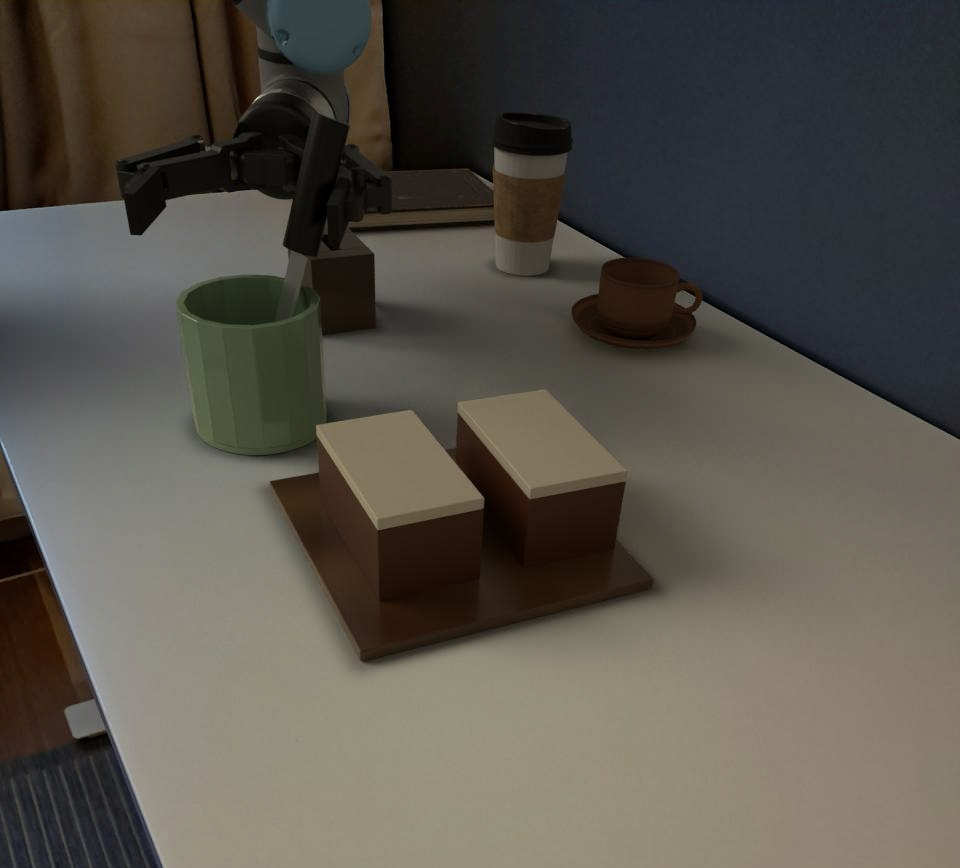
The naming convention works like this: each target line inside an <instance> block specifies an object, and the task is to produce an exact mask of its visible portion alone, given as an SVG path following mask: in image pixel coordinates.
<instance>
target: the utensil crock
mask: <svg viewBox="0 0 960 868" xmlns="http://www.w3.org/2000/svg"><path fill="white" fill-rule="evenodd" d="M284 279H285V277H282V276H276V275H271V274H270V275H269V274H236V275H225V276H219V277H215V278H212V279H208V280H204V281H201V282H196V283H194V284H193V285H191V286H190V287H187V288H186V289H184V290H183V291H181V292H180V294H179V295H178V297H177V299H176V301H175V309H176V317H177V322H178V323H177V324H178V329H179V330H178V331H179V337H180V341H181V347H182V348H181V349H182V355H183V360H184V367H185V373H186V380H187V387H188V392H189V400H190V406H191V413H192V418H193V422H194V426H195V430H196V434H197V435H198V436H199V437H200V439H201V440H202V441H203V442H205V443H206V444H207V445H209V446H211V447H212V448H214V449H217V450H220V451H222V452H223V451H224V452H227V453H232V454H237V455H244V456H266V455H277V454H281V453H286V452H291V451H295V450H297V449H300V448H302V447H305V446H306V445H309V444H310V443H313V442H314V441H315V440H317V433H316V425H320V424H326V423H327V413H328V412H327V394H326V377H325V360H324V359H325V358H324V342H323V341H324V340H323V335H322V323H321V306H320V297H319V296H318V295H317V293H316V292H315V291H314V290H313V288H311V287H309V286H307V285H305V284H303V283H301V287H300V291H299V295H298V300H297V304H296V308H295V312H294V316H293V317H292V318H288V319H285V320H282V321H279V322H275V317H276V313H277V309H278V305H279V300H280V296H281V292H282V288H283V283H284Z"/></svg>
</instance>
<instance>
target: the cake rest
mask: <svg viewBox="0 0 960 868" xmlns="http://www.w3.org/2000/svg"><path fill="white" fill-rule="evenodd" d="M413 410H414V409H413ZM413 410H412V409H407V410H401V411H395V412H389V413H382V414H377V415H370V416H363V417H358V418H351V419H346V420H338V421H333V422H332V421H331V422H328V423H327V422H326V424H320V425H316V433H317V438H316V446H317V447H316V448H317V462H318V463H317V464H318V465H317V466H318V472H319V480H320V495H321V503H322V505H323V506H324V508H325V510H326V511H327V513H328V515H329V517H330V518H331V520H332V522H333V523H334V525H335V527H336V528H337V530H338V532H339V534H340V535H341V537H342V539H343V540H344V542H345V544H346V545H347V547H348V549H349V551H350V552H351V554H352V556H353V557H354V559H355V561H356V562H357V564H358V566H359V568H360V569H361V571H362V573H363V574H364V576H365V578H366V579H367V581H368V583H369V585H370V586H371V588H372V590H373V591H374V593H375V595H376V597H377V598H378V600H379V601H383V600H387V599H392V598H396V597H400V596H405V595H409V594H413V593H418V592H422V591H426V590H431V589H435V588H439V587H444V586H448V585H452V584H457V583H461V582H465V581H470V580H474V579H478V578H480V566H481V549H482V532H483V516H484V509H483V508H484V497H483V496H482V495H481V493H480V492H479V491H478V490H477V489H476V487H475V486H474V485H473V484H472V482H471V481H470V480H469V479H468V478H467V476H466V475H465V474H464V473H463V471H462V470H461V469H460V468H459V467H458V465H457V464H456V463H455V462H454V460H453V459H452V458H451V457H450V456H449V454H448V453H447V452H446V451H445V450H446V449H445V448H444V447H443V446H442V445H441V443H440V442H439V440H437V438H436V437H435V436H434V435H433V433H432V432H431V430H429V429H428V427H427V426H426V425H425V424H424V422H423V421H422V420H421V419H420V418H419V416H418V415H417V414H416V413H415V412H414V411H413Z"/></svg>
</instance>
